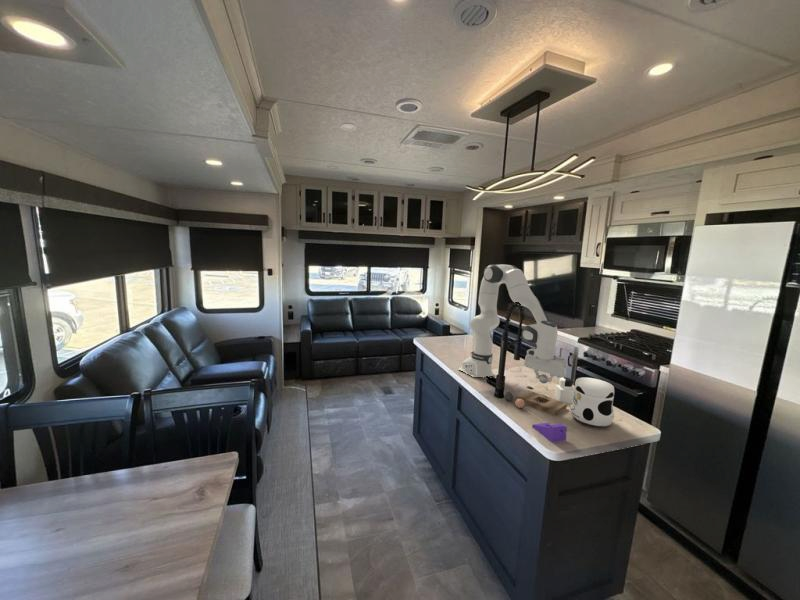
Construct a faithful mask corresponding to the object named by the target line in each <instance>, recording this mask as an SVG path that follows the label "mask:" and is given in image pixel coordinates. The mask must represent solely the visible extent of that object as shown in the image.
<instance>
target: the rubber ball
mask: <svg viewBox="0 0 800 600" xmlns="http://www.w3.org/2000/svg"><path fill="white" fill-rule="evenodd" d="M504 398H505V400H506V401H512V400H513V399H514V394H513V392H511V391H506V392H505V393H504Z"/></svg>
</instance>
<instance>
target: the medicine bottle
mask: <svg viewBox="0 0 800 600" xmlns="http://www.w3.org/2000/svg"><path fill="white" fill-rule="evenodd" d="M573 383H574V381H573V379H571V378H570V377H566V376H564V377H559V384H555V391H554V398H555V400H557V401H560V402H563V403H566V404H571V402H572V400H573V397H574V388H573Z"/></svg>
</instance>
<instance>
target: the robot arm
mask: <svg viewBox="0 0 800 600" xmlns="http://www.w3.org/2000/svg"><path fill="white" fill-rule="evenodd" d="M502 284H503V285H505V286H506V290H507V291H508V296H509V297H510V299H511V301H512V302H513V303H515V302H519V303H520V304H521V305H520V306H522V307H525V308H527V309H528V310H529V311H530V312H531V314H532V316H533V317H534V320H535V321H536V323H533V324H527V325H525V326H524V327H523V328H522V331H521V338H522V339H523V341H524V342H525V343H528V344H536V347H533V348H530V349H529V348H528V349H527V350H526V355H525V358H524V362H523V363H524V366H525V367H526V368H529V369H532V370H533V371H534V374H535V378H536V379H538V380H539V376H540V375H541V374H540V373H539V372H543V373H546V374H549V376H550V377H548V378H547V383H552V381H553V379H554V377H555V376H557V377H558V378H562V377H566V376H567V373H568V372H567V369H568V368H567V366H568V361H567V360H566V358H564V357H560V356H559V355H558V356H557V355H556V354H557V346H556V345H557V342H558V326H557V324H556V323H555V322H553V321H550V320H549V318H548V316H547V314H546V312H545V310H544V308H543V305H542V304H541V302H540V300H539V299H538V297H537V296H535V294H534V292H533V291H532V289H531V287H530V285H529V283H528V280H527V278H526V276H525V274H524V272H523V270H522V269H520V268H518V267H517V266H515V265H512V264H503V263H502V264H501V263H500V264H489V265H488V266H486V267H485V268H484V270H483V277H482V279H481V281H480V287H479V293H478V302H477V303H478V306H479V309H480V313H479V314H478V315H475V316H474V317H472V318H471V319H470V321H469V323H468V326H469V329H470V330H471V332H472V334H473V339H474V347H473V351H470V353H469V354H470V356H469V357H468V358H466V359H464V360H463V362H462V364H461V366H459V367H458V369H459V370H461V371H463V372H465V373H466V374H465V373H464V374H465V375H467V374H469V375H471V376H472V377H471V376H470V377H471V378H473V377H483V378H482V379H485V378H484V377H486V376H492V375H493V376H494V372H493V365H492V363H493V345H494V344H493V343H494V342H493V340H492V339H491V335H490V332H491V331H493V330H495V329H496V328H497V327H499V325H500V321H501V320H500V316H499V315H498V308H497V307H498V305H497V304H498V298H499V289H500V286H501V285H502ZM460 367H461V368H460ZM458 369H457V370H458ZM459 370H458V371H459ZM461 371H460V372H461ZM463 372H462V373H463ZM469 375H468V376H469Z"/></svg>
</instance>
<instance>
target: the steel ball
mask: <svg viewBox="0 0 800 600" xmlns="http://www.w3.org/2000/svg"><path fill="white" fill-rule="evenodd" d="M539 375H540V376H539V379H538V381H539V382H540V383H542V384H547V383H548V382H547V378H549V377H548V375H547V374H544V373H543V374H539Z"/></svg>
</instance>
